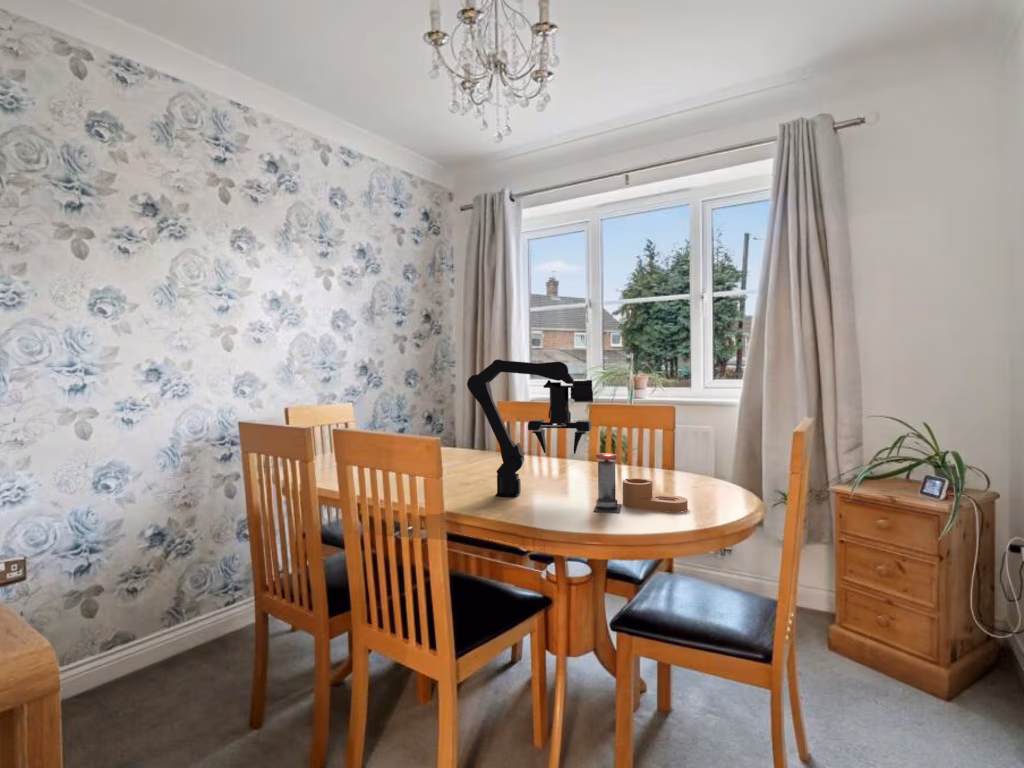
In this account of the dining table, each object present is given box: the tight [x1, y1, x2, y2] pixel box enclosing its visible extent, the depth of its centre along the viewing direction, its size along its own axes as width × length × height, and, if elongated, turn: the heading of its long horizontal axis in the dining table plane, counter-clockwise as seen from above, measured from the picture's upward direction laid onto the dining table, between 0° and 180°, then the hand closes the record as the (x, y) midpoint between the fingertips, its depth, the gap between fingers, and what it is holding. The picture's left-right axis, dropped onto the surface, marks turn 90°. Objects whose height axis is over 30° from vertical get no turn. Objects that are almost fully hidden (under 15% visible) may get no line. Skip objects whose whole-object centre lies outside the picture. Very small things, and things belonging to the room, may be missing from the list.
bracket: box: [622, 477, 689, 513], centre depth 159 cm, size 18×8×7 cm, turn 62°
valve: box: [595, 452, 619, 510], centre depth 158 cm, size 6×6×15 cm
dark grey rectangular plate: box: [593, 503, 623, 514], centre depth 158 cm, size 7×9×1 cm
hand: (559, 453), depth 173 cm, fingers open, 9 cm apart
